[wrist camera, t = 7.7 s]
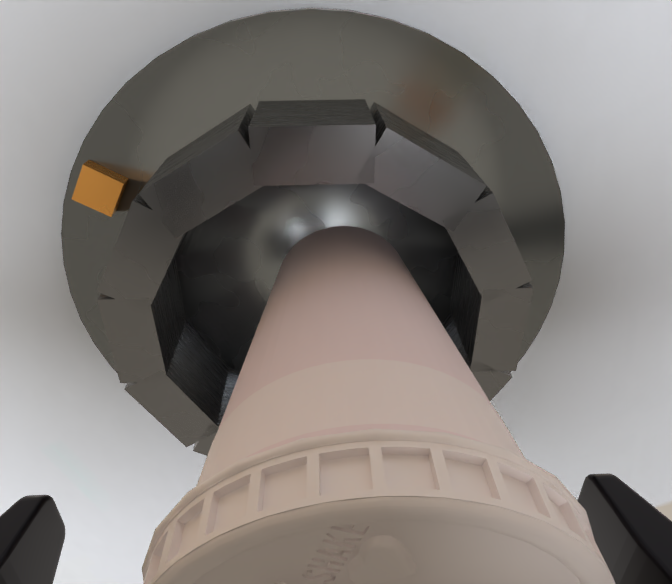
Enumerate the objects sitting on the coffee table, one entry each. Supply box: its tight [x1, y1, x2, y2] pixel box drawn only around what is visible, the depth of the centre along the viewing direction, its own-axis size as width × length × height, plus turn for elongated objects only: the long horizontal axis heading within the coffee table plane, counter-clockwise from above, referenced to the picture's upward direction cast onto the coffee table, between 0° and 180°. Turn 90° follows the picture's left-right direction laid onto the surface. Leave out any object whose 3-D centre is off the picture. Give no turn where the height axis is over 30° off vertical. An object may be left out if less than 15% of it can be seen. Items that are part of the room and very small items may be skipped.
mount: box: [61, 8, 565, 456], centre depth 14 cm, size 14×14×3 cm
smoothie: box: [142, 226, 615, 584], centre depth 9 cm, size 6×6×14 cm
